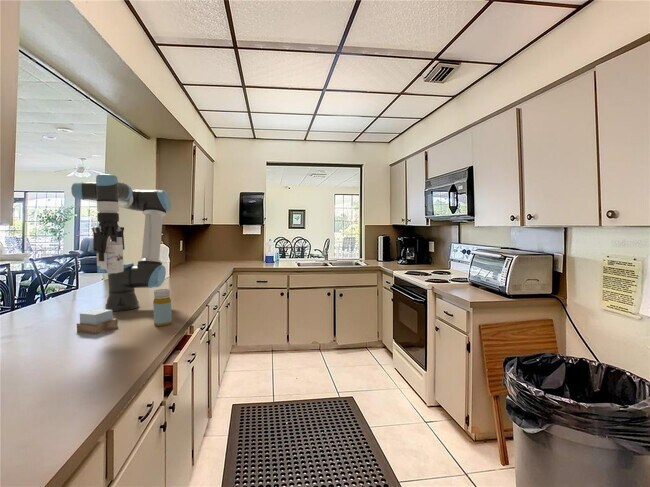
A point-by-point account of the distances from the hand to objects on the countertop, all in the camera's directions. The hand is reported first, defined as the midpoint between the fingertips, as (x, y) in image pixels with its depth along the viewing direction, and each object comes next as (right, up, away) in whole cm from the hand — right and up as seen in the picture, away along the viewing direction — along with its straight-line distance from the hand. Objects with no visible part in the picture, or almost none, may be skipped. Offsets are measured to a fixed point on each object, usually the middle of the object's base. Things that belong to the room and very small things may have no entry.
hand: (110, 267), depth 142 cm
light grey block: (-5, -22, 0) cm, 23 cm away
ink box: (0, -2, 0) cm, 2 cm away
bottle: (+18, -25, +7) cm, 32 cm away
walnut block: (-5, -26, 0) cm, 27 cm away
